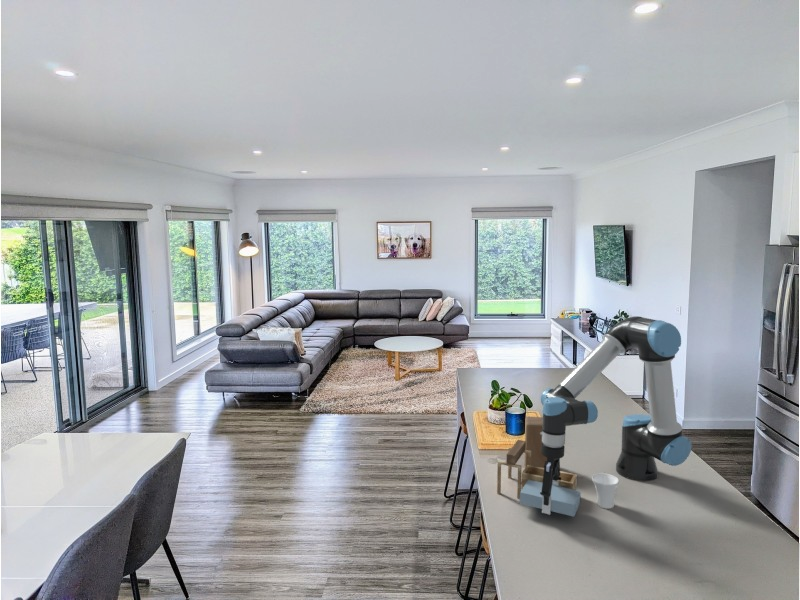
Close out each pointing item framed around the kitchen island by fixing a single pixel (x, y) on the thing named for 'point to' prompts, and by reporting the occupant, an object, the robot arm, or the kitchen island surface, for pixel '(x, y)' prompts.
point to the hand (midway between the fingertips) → (549, 505)
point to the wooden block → (534, 441)
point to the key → (516, 452)
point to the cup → (605, 489)
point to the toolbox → (534, 475)
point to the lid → (560, 498)
